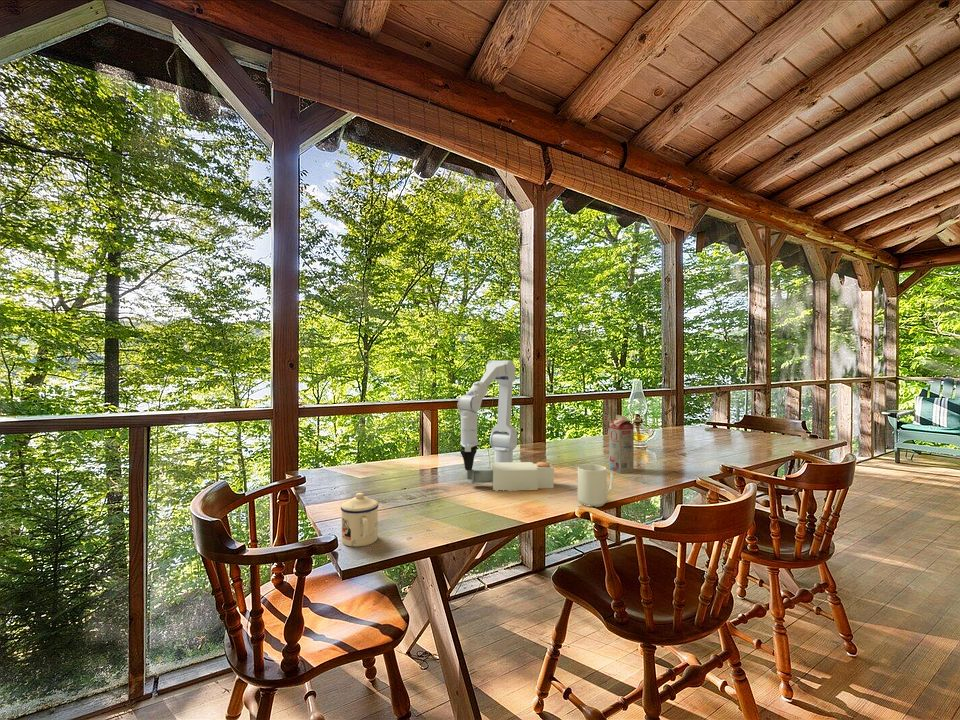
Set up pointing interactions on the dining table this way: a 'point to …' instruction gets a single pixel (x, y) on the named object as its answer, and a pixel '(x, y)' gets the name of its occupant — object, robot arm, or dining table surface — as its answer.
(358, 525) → the teacup with lid
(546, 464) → the plunger button
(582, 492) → the mug
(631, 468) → the juice carton
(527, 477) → the button housing
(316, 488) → the dining table surface
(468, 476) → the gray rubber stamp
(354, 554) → the dining table surface
